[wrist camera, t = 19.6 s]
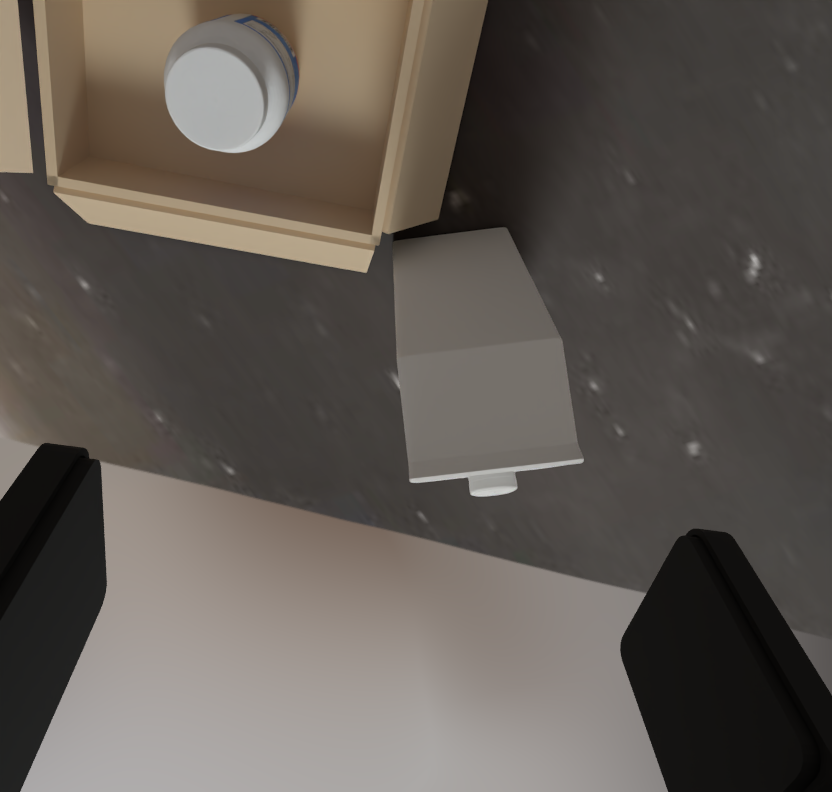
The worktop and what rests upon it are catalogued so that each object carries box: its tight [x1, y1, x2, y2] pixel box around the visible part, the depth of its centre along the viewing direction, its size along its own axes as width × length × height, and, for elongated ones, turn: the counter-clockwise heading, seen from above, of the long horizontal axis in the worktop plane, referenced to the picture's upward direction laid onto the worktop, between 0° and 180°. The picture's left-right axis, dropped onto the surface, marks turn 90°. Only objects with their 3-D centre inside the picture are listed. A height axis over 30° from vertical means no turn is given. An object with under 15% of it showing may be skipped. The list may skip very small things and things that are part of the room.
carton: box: [33, 0, 488, 273], centre depth 34 cm, size 20×20×5 cm
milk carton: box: [392, 227, 584, 497], centre depth 35 cm, size 7×7×19 cm
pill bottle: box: [164, 13, 299, 153], centre depth 31 cm, size 6×5×10 cm
